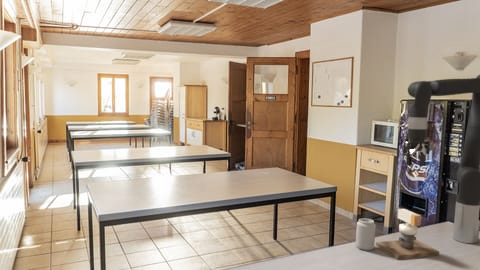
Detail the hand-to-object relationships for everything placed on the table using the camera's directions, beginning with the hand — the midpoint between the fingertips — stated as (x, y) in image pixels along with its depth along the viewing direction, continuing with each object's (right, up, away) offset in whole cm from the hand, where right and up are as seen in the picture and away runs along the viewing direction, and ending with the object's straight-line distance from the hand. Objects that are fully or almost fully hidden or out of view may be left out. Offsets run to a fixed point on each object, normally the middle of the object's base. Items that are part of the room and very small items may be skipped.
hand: (415, 164), depth 165 cm
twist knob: (-7, -27, -8) cm, 29 cm away
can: (-24, -35, -6) cm, 43 cm away
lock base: (-7, -35, -7) cm, 37 cm away
